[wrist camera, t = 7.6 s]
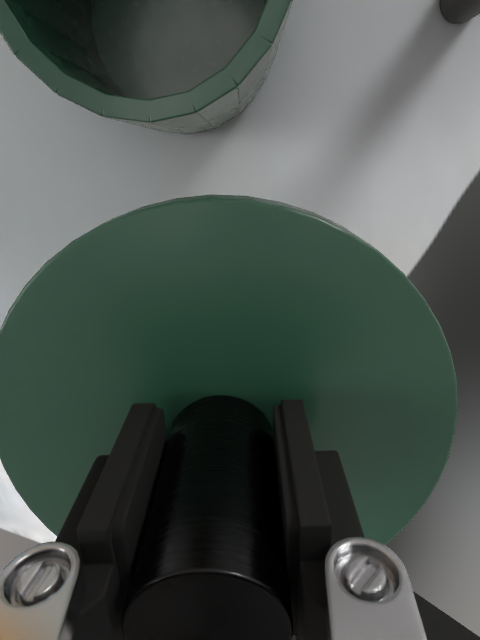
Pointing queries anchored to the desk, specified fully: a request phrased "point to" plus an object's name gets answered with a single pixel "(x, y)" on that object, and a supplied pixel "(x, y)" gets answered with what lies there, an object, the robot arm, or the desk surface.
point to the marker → (459, 10)
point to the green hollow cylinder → (149, 55)
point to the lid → (223, 393)
